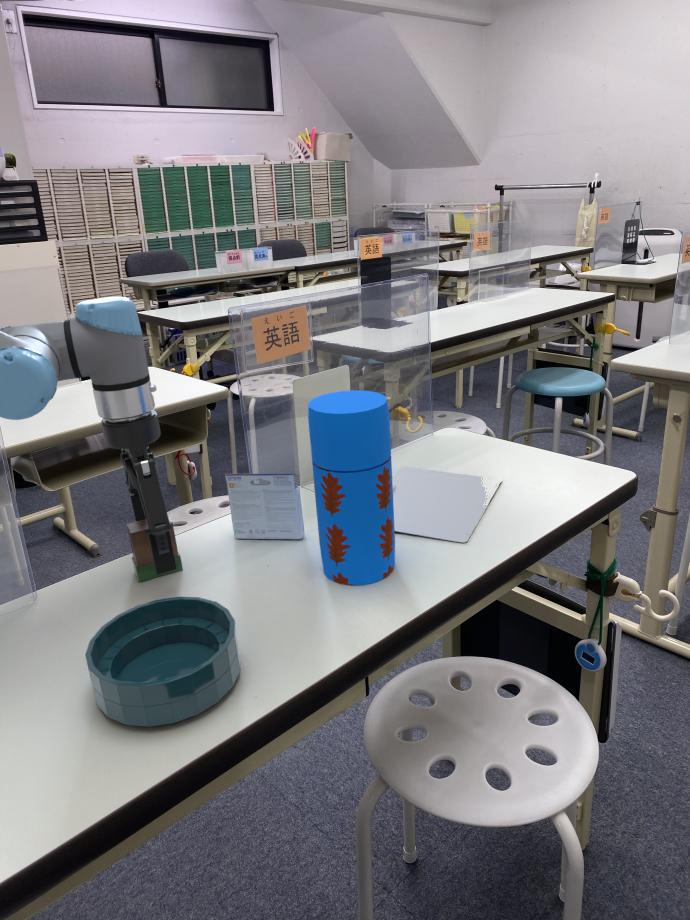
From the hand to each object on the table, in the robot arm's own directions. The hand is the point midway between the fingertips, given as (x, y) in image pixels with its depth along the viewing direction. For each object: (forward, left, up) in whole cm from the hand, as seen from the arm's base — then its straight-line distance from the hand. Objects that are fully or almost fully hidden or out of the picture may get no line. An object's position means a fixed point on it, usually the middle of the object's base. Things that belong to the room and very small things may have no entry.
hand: (156, 550), depth 101 cm
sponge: (0, 0, -3) cm, 3 cm away
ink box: (-1, +18, -4) cm, 18 cm away
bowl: (+26, -4, -3) cm, 27 cm away
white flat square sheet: (+1, +45, -4) cm, 45 cm away
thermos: (+15, +26, -4) cm, 30 cm away
